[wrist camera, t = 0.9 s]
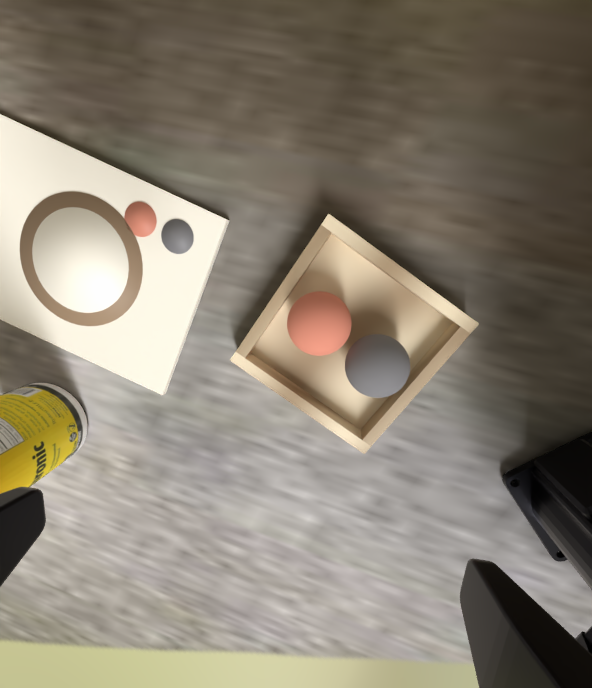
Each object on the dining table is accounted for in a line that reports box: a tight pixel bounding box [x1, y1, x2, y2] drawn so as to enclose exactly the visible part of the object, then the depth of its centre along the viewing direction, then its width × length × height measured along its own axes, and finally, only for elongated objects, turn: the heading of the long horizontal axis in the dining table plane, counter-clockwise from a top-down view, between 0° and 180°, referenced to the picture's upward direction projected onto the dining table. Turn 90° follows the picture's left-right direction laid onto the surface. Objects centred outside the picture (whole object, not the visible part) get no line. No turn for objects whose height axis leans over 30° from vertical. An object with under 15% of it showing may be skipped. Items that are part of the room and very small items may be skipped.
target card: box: [0, 114, 229, 395], centre depth 19 cm, size 14×11×1 cm
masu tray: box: [230, 214, 479, 454], centre depth 18 cm, size 9×9×2 cm
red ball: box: [287, 291, 352, 356], centre depth 17 cm, size 3×3×3 cm
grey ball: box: [345, 334, 410, 398], centre depth 17 cm, size 3×3×3 cm
